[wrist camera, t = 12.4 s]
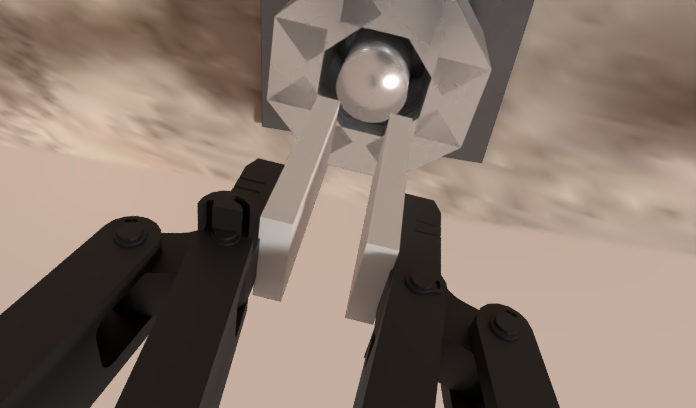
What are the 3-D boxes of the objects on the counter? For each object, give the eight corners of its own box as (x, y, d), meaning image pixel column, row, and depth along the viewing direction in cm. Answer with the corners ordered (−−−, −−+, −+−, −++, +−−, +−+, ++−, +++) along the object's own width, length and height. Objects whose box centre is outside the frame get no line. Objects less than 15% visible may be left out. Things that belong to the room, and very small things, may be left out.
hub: (265, 122, 31) (219, 194, 25) (263, -143, 23) (194, -135, 16) (481, 158, 30) (491, 242, 24) (564, -103, 22) (614, -78, 16)
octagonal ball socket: (288, 103, 27) (261, 148, 23) (310, -75, 22) (281, -56, 18) (442, 142, 27) (442, 193, 23) (504, -27, 22) (518, 3, 18)
